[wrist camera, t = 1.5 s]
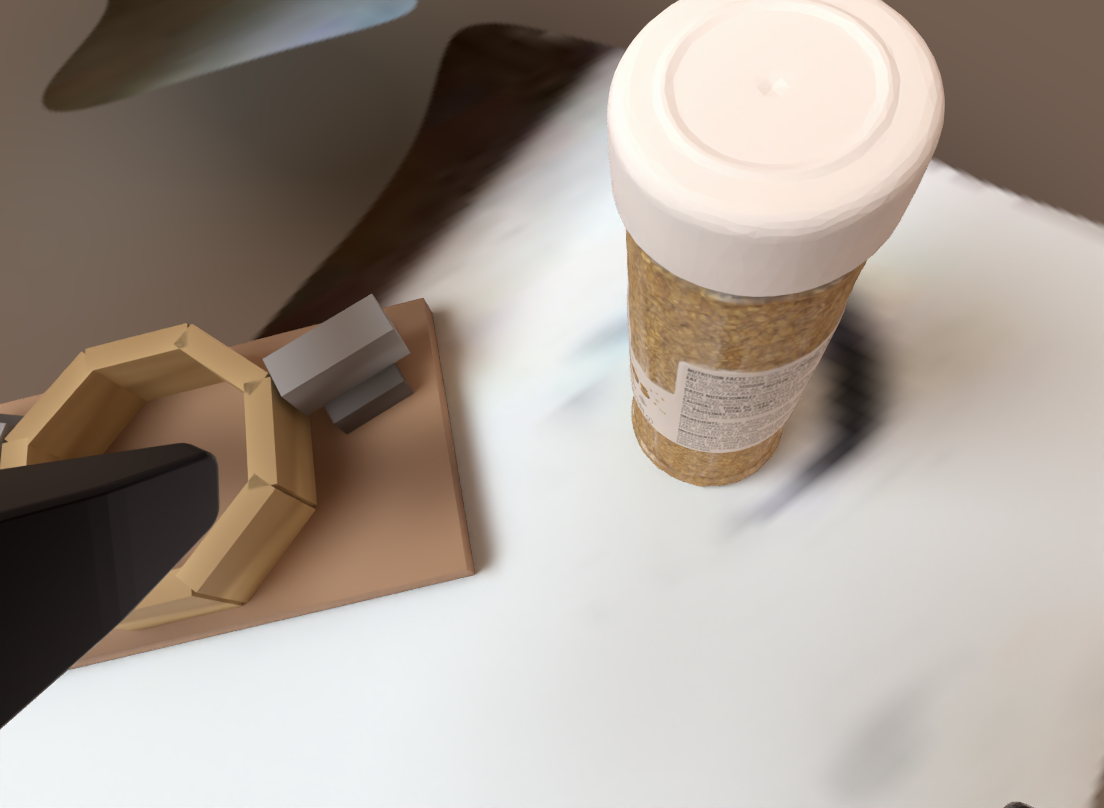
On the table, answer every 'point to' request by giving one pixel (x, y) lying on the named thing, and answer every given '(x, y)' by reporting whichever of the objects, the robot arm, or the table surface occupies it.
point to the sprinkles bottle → (755, 206)
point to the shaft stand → (273, 464)
